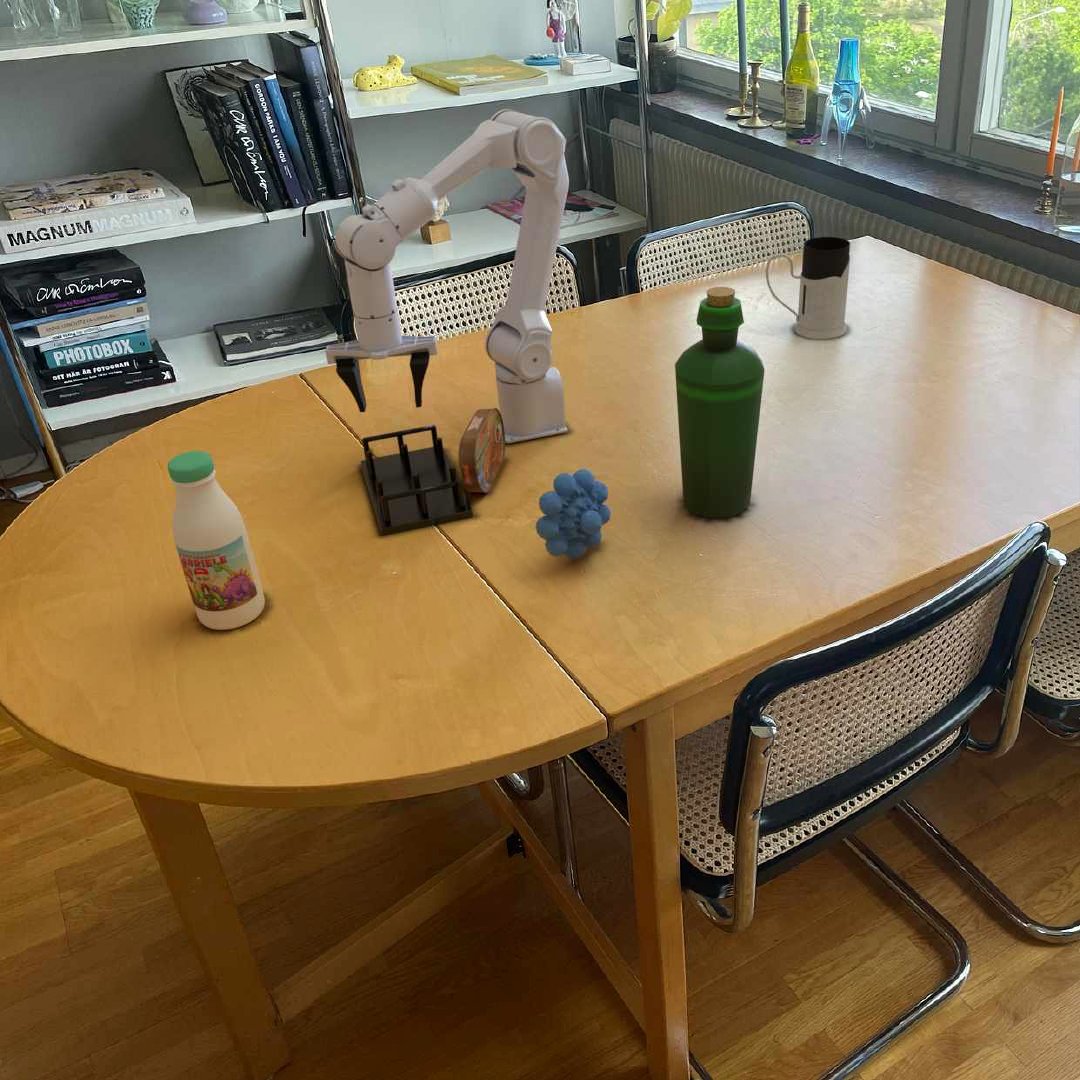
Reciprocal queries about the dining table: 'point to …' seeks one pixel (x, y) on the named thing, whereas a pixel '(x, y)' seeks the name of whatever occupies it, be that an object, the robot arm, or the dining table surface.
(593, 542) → the grapes
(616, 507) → the dining table surface
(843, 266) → the glass holder
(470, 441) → the tin
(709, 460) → the bottle
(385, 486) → the rack
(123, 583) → the dining table surface
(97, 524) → the dining table surface
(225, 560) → the milk bottle
